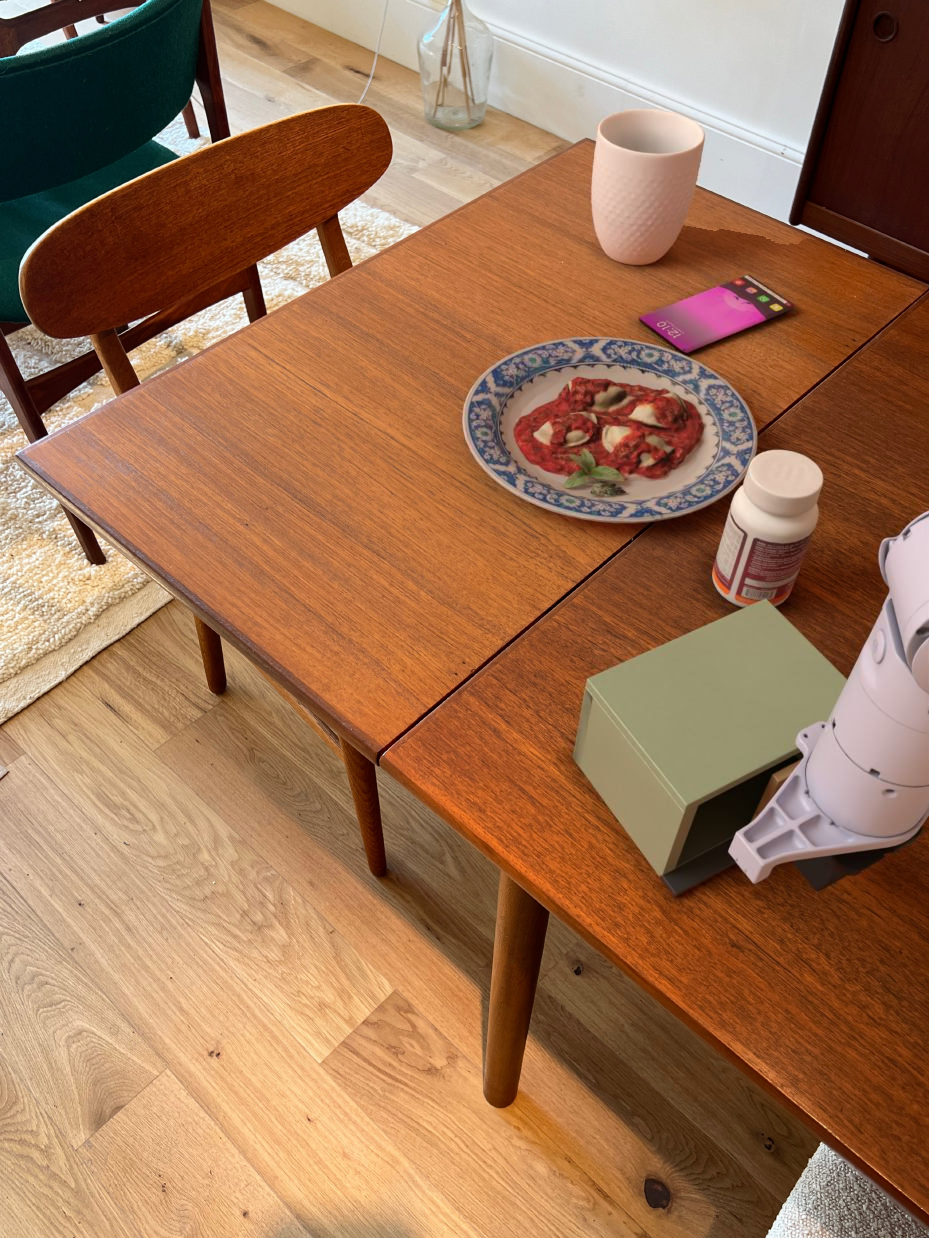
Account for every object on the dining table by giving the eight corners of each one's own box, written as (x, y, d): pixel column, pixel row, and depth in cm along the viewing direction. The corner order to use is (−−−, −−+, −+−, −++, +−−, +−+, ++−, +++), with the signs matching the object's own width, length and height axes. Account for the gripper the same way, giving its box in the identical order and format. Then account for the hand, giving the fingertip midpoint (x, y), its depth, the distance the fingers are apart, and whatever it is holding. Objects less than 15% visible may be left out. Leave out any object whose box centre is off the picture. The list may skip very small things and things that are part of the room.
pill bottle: (805, 584, 78) (850, 473, 69) (759, 625, 75) (800, 515, 66) (740, 544, 81) (775, 432, 72) (694, 582, 78) (724, 471, 69)
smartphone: (793, 313, 103) (796, 305, 102) (682, 356, 97) (684, 349, 97) (745, 281, 107) (747, 273, 106) (636, 321, 101) (637, 313, 101)
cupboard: (847, 802, 65) (893, 724, 58) (674, 898, 60) (702, 825, 54) (736, 679, 71) (766, 597, 65) (572, 758, 67) (586, 678, 60)
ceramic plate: (545, 327, 101) (548, 301, 98) (791, 410, 92) (800, 383, 90) (406, 470, 86) (405, 442, 84) (683, 584, 78) (690, 557, 75)
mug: (585, 207, 117) (597, 90, 108) (679, 213, 117) (700, 96, 107) (583, 273, 108) (596, 151, 98) (685, 280, 107) (709, 157, 97)
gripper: (943, 618, 50) (860, 765, 60) (714, 732, 45) (666, 871, 56) (1059, 719, 46) (949, 859, 56) (820, 856, 41) (747, 981, 51)
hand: (814, 872), depth 56 cm, fingers closed
